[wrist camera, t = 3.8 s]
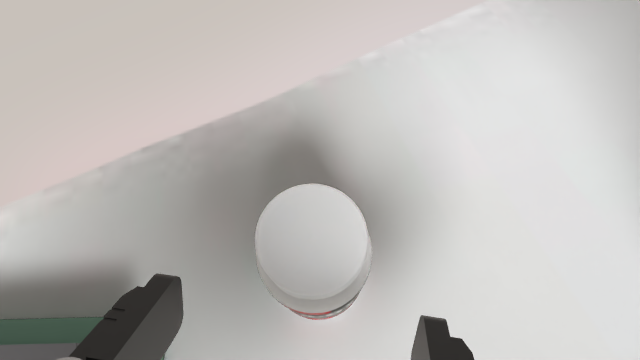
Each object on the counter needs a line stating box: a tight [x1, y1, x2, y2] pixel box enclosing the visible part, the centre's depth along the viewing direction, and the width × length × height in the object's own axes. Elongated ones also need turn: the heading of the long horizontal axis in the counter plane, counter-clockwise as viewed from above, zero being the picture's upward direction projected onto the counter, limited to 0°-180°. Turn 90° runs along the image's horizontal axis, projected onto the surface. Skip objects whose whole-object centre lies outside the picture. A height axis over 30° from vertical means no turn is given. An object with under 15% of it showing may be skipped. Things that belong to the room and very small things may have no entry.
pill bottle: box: [254, 183, 372, 320], centre depth 18 cm, size 5×5×8 cm
